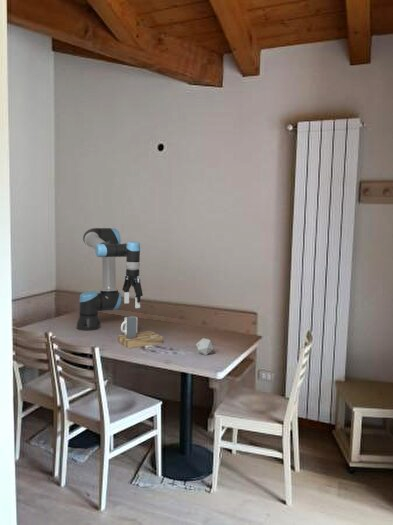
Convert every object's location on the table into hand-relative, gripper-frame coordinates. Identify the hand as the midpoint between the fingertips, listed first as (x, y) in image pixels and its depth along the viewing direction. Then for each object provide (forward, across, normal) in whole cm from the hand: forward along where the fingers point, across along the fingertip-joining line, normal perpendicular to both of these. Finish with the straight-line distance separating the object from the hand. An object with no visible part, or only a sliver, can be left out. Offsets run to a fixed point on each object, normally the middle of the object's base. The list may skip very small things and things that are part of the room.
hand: (132, 305), depth 269 cm
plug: (+23, 0, 0) cm, 23 cm away
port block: (+23, 0, +6) cm, 23 cm away
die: (+23, +35, +27) cm, 50 cm away
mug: (+23, -19, +8) cm, 31 cm away
